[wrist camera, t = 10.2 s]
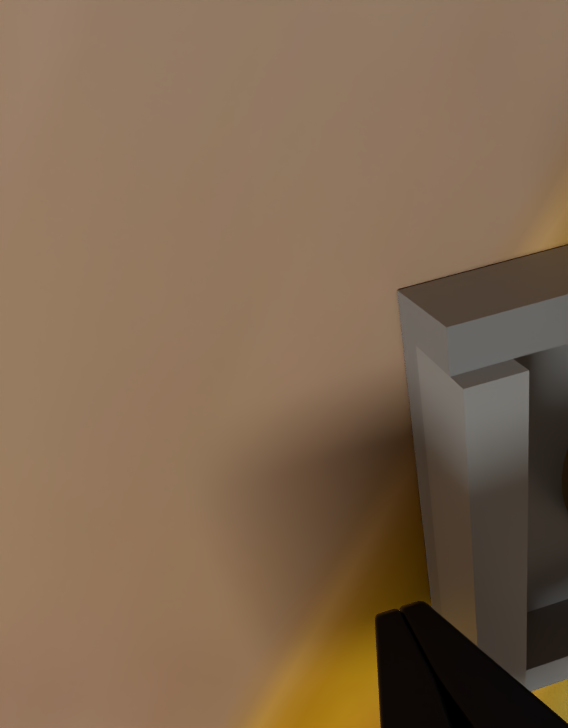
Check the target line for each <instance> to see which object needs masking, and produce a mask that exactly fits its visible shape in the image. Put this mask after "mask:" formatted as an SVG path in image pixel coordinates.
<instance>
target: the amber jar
mask: <svg viewBox="0 0 568 728" xmlns="http://www.w3.org/2000/svg"><path fill="white" fill-rule="evenodd" d="M562 494H563V499H564V504H565V506H566V509H567V511H568V448H567V452H566V456H565V460H564V464H563V472H562Z"/></svg>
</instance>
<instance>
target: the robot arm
mask: <svg viewBox="0 0 568 728" xmlns="http://www.w3.org/2000/svg"><path fill="white" fill-rule="evenodd" d="M375 630H376V649H377V668H378V686H379V705H380V724H381V728H568V723H566V722H565V721H564V720H563V719H562V718H561V717H559V716H558V715H557V714H556V713H555V712H554V711H552V710H551V709H550V708H549V707H548V706H547V705H545V704H544V703H543V702H542V701H541V700H540V699H538V698H537V697H536V696H535V695H534V694H533V693H531V692H530V691H529V690H528V689H527V688H526V687H524V686H523V685H522V684H521V683H520V682H518V681H517V680H516V679H515V678H514V677H513V676H511V675H510V674H509V673H508V672H507V671H506V670H504V669H503V668H502V667H501V666H500V665H499V664H497V663H496V662H495V661H494V660H493V659H492V658H490V657H489V656H488V655H487V654H486V653H485V652H483V651H482V650H481V649H480V648H479V647H477V646H476V645H475V644H474V643H473V642H472V641H470V640H469V639H468V638H467V637H466V636H465V635H463V634H462V633H461V632H460V631H459V630H458V629H456V628H455V627H454V626H453V625H452V624H451V623H449V622H448V621H447V620H446V619H445V618H444V617H442V616H441V615H440V614H439V613H438V612H436V611H435V610H434V609H433V608H432V607H431V606H429V605H428V604H427V603H425V602H424V601H417V602H414V603H411V604H408V605H404V606H402V607H401V608H400V611H399V610H398V609H392V610H389V611H386V612H383V613H380V614H377V615H376V617H375Z"/></svg>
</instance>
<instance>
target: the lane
mask: <svg viewBox="0 0 568 728" xmlns="http://www.w3.org/2000/svg"><path fill="white" fill-rule="evenodd" d="M397 293H398V302H399V312H400V321H401V330H402V339H403V348H404V358H405V367H406V376H407V385H408V394H409V404H410V413H411V422H412V431H413V440H414V449H415V459H416V468H417V477H418V486H419V495H420V505H421V514H422V523H423V532H424V541H425V551H426V560H427V569H428V578H429V587H430V596H431V606H432V608H433V609H434V610H435V611H436V612H438V613H439V614H440V615H441V616H442V617H444V618H445V619H446V620H447V621H448V622H449V623H451V624H452V625H453V626H454V627H455V628H456V629H458V630H459V631H460V632H461V633H462V634H463V635H465V636H466V637H467V638H468V639H469V640H470V641H472V642H473V643H474V644H475V645H476V646H477V647H479V648H480V649H481V650H482V651H483V652H485V653H486V654H487V655H488V656H489V657H490V658H492V659H493V660H494V661H495V662H496V663H497V664H499V665H500V666H501V667H502V668H503V669H504V670H506V671H507V672H508V673H509V674H510V675H511V676H513V677H514V678H515V679H516V680H517V681H518V682H520V683H521V684H522V685H523V686H524V687H526V688H527V689H528V690H529V691H530V692H531V691H533V690H536V689H539V688H542V687H545V686H548V685H551V684H554V683H557V682H560V681H562V680H565V679H568V511H567V509H566V506H565V504H564V499H563V494H562V472H563V464H564V460H565V456H566V452H567V448H568V245H566V246H563V247H559V248H555V249H551V250H547V251H544V252H540V253H536V254H532V255H529V256H525V257H521V258H517V259H513V260H510V261H506V262H502V263H498V264H495V265H491V266H487V267H483V268H479V269H476V270H472V271H468V272H464V273H461V274H457V275H453V276H449V277H445V278H442V279H438V280H434V281H430V282H427V283H423V284H419V285H415V286H411V287H408V288H404V289H400V290H397Z"/></svg>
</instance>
